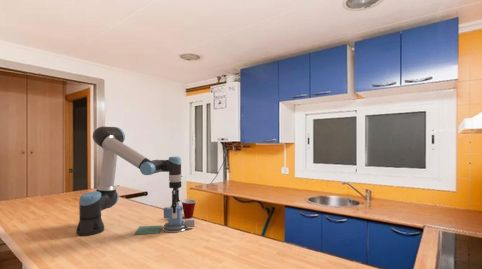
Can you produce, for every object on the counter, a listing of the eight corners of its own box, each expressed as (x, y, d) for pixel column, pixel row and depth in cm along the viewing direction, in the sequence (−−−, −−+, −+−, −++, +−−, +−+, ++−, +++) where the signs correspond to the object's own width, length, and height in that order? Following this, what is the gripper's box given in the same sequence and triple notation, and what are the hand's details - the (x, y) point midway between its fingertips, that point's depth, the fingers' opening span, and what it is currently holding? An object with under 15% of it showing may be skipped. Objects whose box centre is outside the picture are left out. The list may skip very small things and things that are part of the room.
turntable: (166, 223, 180) (166, 216, 180) (196, 223, 180) (196, 216, 180) (161, 230, 166) (161, 223, 166) (192, 230, 166) (192, 223, 166)
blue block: (165, 222, 176) (165, 205, 176) (183, 222, 177) (183, 205, 177) (162, 226, 169) (162, 208, 169) (181, 226, 170) (181, 208, 170)
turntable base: (161, 233, 165) (161, 232, 165) (164, 225, 179) (164, 224, 179) (186, 232, 166) (186, 230, 166) (188, 224, 181) (188, 223, 181)
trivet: (134, 235, 162) (134, 234, 162) (139, 227, 176) (139, 226, 176) (158, 233, 164) (158, 232, 164) (162, 226, 178) (162, 225, 178)
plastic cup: (193, 219, 191) (193, 202, 192) (178, 219, 193) (178, 202, 193) (198, 215, 202) (198, 199, 202) (184, 214, 204) (184, 198, 204)
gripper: (179, 184, 161) (180, 220, 161) (182, 178, 186) (183, 209, 186) (166, 184, 160) (166, 221, 160) (171, 178, 185) (172, 210, 185)
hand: (175, 215), depth 173 cm, fingers open, 13 cm apart
